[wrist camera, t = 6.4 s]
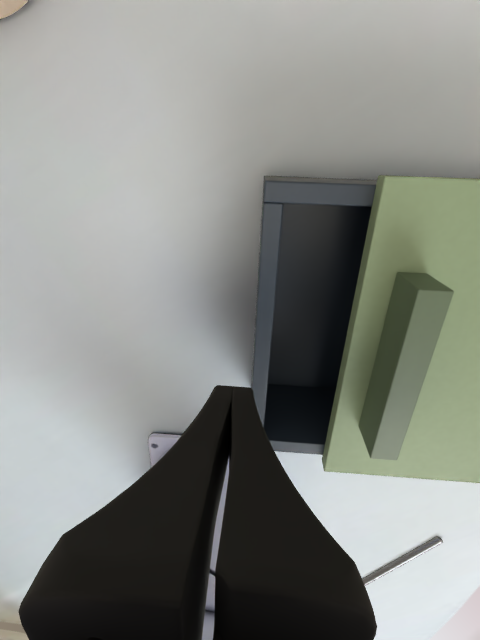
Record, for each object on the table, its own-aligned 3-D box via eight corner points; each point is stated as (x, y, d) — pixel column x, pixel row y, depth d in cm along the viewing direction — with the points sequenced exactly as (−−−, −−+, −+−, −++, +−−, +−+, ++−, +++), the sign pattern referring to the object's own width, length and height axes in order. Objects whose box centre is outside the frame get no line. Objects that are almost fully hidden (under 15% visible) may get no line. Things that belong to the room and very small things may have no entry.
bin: (421, 398, 23) (466, 465, 18) (251, 387, 24) (248, 449, 18) (495, 184, 17) (596, 193, 12) (264, 175, 17) (264, 180, 12)
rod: (301, 609, 37) (301, 617, 36) (435, 532, 30) (438, 540, 29) (306, 612, 37) (306, 620, 37) (440, 536, 30) (444, 544, 29)
